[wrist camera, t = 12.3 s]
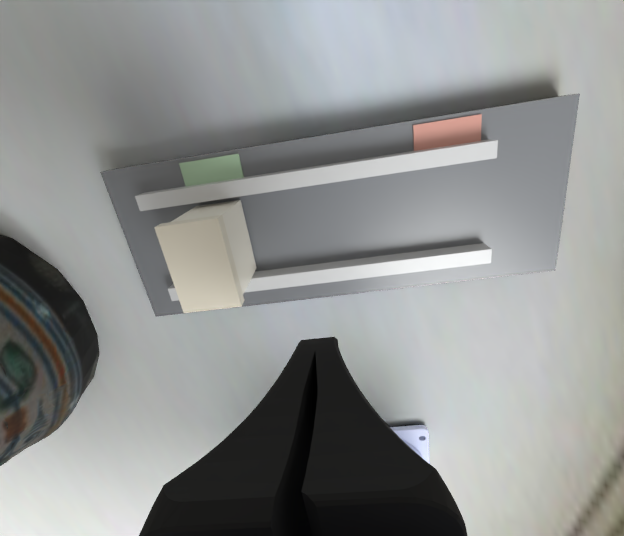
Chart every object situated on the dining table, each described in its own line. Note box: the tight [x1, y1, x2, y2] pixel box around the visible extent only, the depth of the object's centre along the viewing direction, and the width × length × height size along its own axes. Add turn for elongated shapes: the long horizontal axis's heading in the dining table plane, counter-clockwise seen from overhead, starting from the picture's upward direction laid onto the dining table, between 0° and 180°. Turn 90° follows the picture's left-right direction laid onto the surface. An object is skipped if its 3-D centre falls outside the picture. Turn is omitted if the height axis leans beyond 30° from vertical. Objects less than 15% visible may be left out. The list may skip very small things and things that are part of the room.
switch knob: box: [154, 200, 257, 313], centre depth 17 cm, size 4×3×4 cm, turn 9°
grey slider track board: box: [101, 94, 580, 316], centre depth 19 cm, size 9×24×2 cm, turn 99°
